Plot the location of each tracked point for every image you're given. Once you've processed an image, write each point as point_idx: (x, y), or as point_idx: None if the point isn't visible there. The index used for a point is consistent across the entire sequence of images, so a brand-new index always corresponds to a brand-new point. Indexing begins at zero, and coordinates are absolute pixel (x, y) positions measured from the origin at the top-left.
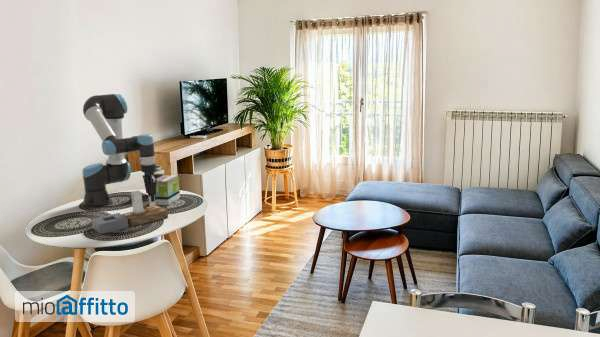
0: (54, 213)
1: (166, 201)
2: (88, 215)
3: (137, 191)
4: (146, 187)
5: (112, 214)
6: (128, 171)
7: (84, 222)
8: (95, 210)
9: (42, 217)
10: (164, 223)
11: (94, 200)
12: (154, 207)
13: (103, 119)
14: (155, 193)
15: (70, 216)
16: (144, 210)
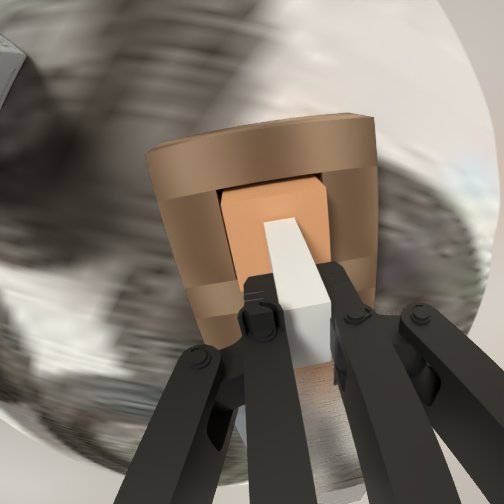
0: (48, 443)
1: (1, 70)
2: (80, 417)
3: (325, 498)
4: (217, 476)
5: (242, 431)
6: None
7: None
8: (27, 389)
9: (77, 460)
10: (440, 181)
11: None
12: (301, 229)
13: None
14: (440, 325)
15: (80, 439)
16: (233, 289)
